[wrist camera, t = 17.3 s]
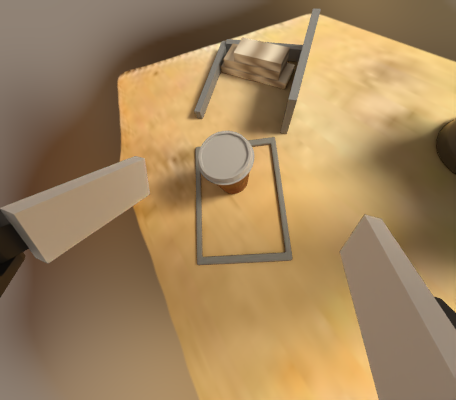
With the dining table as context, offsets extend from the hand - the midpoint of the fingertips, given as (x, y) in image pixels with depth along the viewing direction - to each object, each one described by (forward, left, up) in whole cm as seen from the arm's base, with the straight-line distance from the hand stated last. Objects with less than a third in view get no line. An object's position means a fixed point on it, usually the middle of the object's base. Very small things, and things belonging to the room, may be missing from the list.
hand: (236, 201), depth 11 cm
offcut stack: (+9, -42, -28) cm, 51 cm away
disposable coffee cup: (+6, -10, -27) cm, 30 cm away
